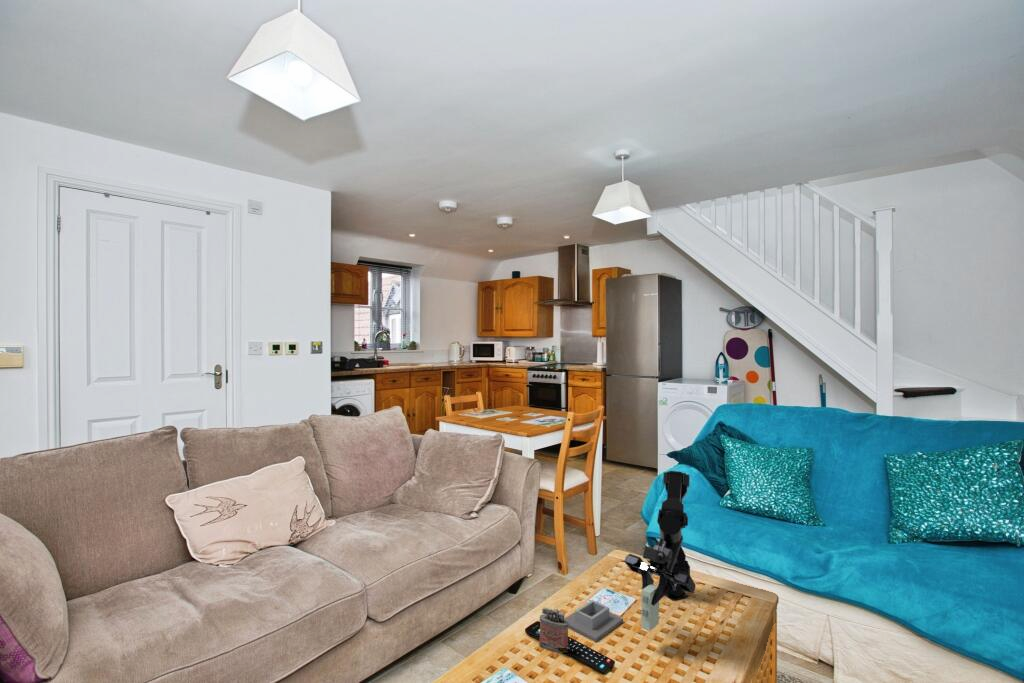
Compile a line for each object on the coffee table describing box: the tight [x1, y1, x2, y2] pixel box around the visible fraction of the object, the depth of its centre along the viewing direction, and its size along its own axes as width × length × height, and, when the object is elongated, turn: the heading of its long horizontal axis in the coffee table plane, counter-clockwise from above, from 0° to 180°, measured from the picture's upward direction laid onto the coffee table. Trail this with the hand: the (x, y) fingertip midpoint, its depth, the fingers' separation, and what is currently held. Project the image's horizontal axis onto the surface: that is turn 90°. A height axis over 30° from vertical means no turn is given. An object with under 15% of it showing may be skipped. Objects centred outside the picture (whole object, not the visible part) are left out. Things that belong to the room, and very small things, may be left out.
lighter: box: [538, 606, 569, 654], centre depth 131 cm, size 8×3×10 cm, turn 65°
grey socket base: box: [564, 599, 624, 643], centre depth 143 cm, size 12×14×4 cm
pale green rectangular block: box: [640, 583, 660, 632], centre depth 131 cm, size 2×6×10 cm, turn 136°
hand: (647, 602), depth 131 cm, fingers closed on pale green rectangular block, 2 cm apart
